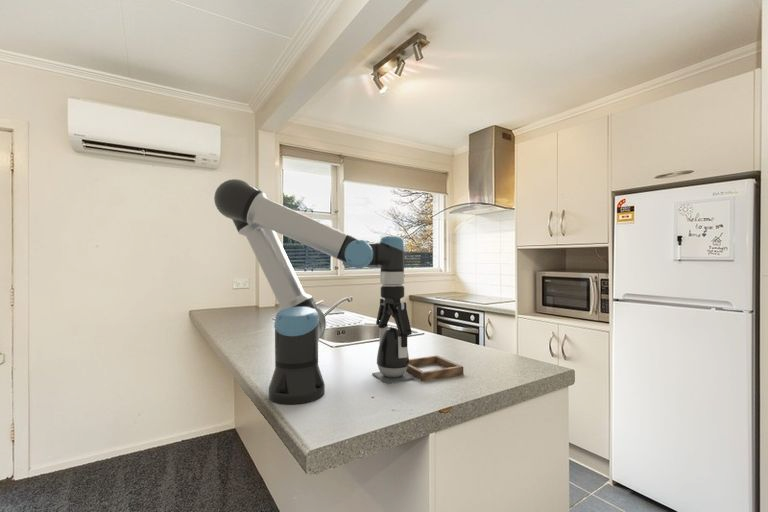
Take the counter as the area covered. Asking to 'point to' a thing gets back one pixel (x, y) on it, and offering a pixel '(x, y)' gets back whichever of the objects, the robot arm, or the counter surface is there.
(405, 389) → the counter surface
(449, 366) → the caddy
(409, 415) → the counter surface
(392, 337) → the pump dispenser
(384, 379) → the pad
